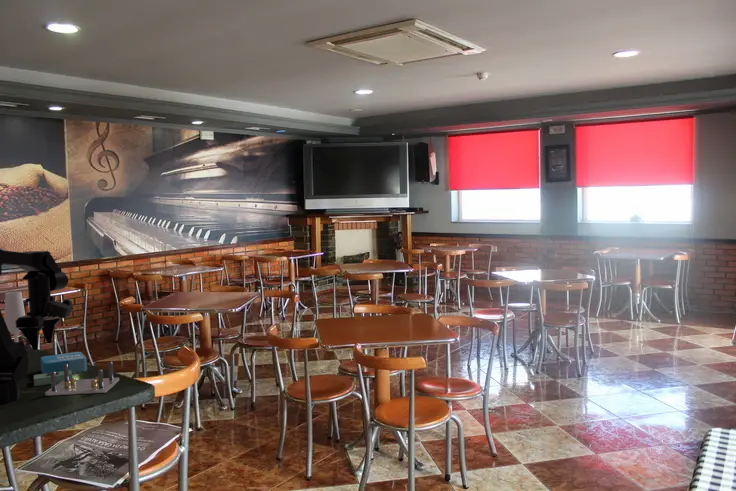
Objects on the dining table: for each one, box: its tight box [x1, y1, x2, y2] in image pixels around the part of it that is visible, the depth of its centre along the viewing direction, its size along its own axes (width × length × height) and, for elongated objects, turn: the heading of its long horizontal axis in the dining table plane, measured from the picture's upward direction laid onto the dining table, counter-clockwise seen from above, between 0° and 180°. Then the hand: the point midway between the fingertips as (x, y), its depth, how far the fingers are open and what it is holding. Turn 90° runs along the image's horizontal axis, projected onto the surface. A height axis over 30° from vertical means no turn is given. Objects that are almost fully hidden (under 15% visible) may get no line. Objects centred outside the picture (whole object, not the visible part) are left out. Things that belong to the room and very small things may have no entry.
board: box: [33, 370, 73, 387], centre depth 183 cm, size 6×10×3 cm, turn 119°
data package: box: [39, 351, 88, 374], centre depth 194 cm, size 12×4×12 cm
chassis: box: [44, 361, 120, 397], centre depth 174 cm, size 12×16×6 cm
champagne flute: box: [3, 291, 26, 342], centre depth 208 cm, size 7×7×24 cm
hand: (42, 346), depth 180 cm, fingers open, 9 cm apart
